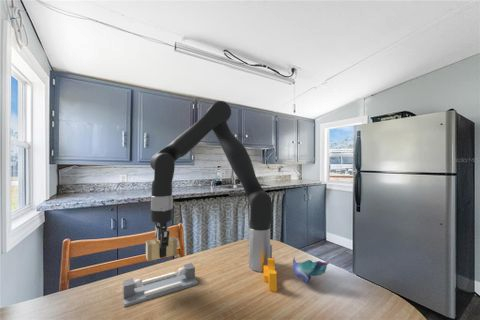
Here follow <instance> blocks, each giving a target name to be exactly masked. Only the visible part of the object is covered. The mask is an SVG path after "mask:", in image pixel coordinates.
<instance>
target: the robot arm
mask: <svg viewBox="0 0 480 320" xmlns="http://www.w3.org/2000/svg"><path fill="white" fill-rule="evenodd" d="M231 116H232V108H231V106H230V104H228V103H227V102H226V101H223V100H217V101H215V102H213V103H212V104H211V105H210V107H208V109H207V111H206V113H205V114H203V115H202V117H200V119H198V120H197V121H196V122H195V123H193V124H192V125H191V126H190V127H188V128H187V129H186V130H185V131H183V132H182V133H181V134H179V135H178V136H177V137H176V138H175V139H173V140H172V142H170V143H169V144H167V145H166V146H165V147H163V148H162V149H160V150H159V151H157V152H155V154H154V155H152V157H151V158H150V161H149V164H150V167H151V168H152V170H153V171H154V172H153V173H154V177H153V180H152V183H151V197H150V198H151V199H150V222H152V223H153V224H154V230H155V236H154V237H155V239H158V241H159V247H160V255H159V256H160V259H164V258H167V257H166V247H167V246H168V245H169V244H168V243H169V237H170V231H169V226H168V225H167V223H168V222H171V221H172V220H173V218H174V214H173V213H174V211H173V208H174V206H173V205H174V200H173V180H174V174H175V164H176V163H175V162H176V161H177V160H179V159H181V158H182V157H184V156H187V154H188V153H189V152H191V150H193V149H194V148H195V147H196V146H197V145H199V143H200V142H201V141H202V140H203V139H204V138H205V137H206V136H207V135H208V134H209V133H210V132H211V131H213V133H214V135H215V137H216V138H217V141H218V142H219V144H220V147H221V148H222V150H223V152H224V154H225V157H226V159H227V161H228V163H229V165H230V168H231V169H232V171H233V172H234V174H235V176H236V177H237V179H238V180H239V182H240V184H241V185H242V187H243V190H244V193H245V196H246V199H247V201H248V204H249V206H250V213H249V214H250V216H249V217H250V218H249V221H248V222H249V223H248V224H249V225H248V234H249V235H248V267H249V269H250V270H252V271H255V272H259V273H261V272H263V273H264V265H267V266H268V258H273V244H271V223H272V219H273V217H272V215H273V214H272V213H273V201H272V197H271V196H270V195H269V193H267V192H265V190H264V189H263V187H262V185H261V183H260V182H259V180H258V178H257V176H256V172H255V169H254V165H253V162H252V159H251V157H250V155H249V153H248V151H247V148H246V147H245V145H243V143H242V142H241V141H239V139H238V138H236V137H235V135H234V134H233V133H232V131H231V129H230V127H229V125H228V122H227V121H229V120H230V118H231ZM163 242H165V243H163ZM163 257H164V258H163Z"/></svg>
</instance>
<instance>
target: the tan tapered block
mask: <svg viewBox="0 0 480 320" xmlns="http://www.w3.org/2000/svg"><path fill="white" fill-rule="evenodd" d="M163 243H165V242H163ZM168 244H169V245H168V246H167V247H166V257H163V258H162V259H164V258H167V257H174V256H177V255H178V239H177V238H176V236H175V235H170V236H169V243H168ZM159 255H160V247H159V241H158V239H157V238H155V239H147V240H145V258H146V261H147V262H151V261H156V260H159V259H161V258H160V256H159Z"/></svg>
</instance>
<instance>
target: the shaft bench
mask: <svg viewBox="0 0 480 320" xmlns="http://www.w3.org/2000/svg"><path fill="white" fill-rule="evenodd" d="M177 271H178V272H176V271H173V272H169V273H166V274H162V275H159V276H155V277H150V278H146V279H144V280H143V278H137V279H134V277H132V278H128V279H123V281H122V282H123V287H122V294H123V307H124V308H126V307H129V306H132V305H135V304H138V303H141V302H142V303H143V302H144V301H149V300H151V299H154V298H158V297H161V296H164V295H167V294H171V293H173V292H177V291H181V290H184V289H186V288H190V287H193V286H196V285H198V283H199V281H198V280H197V278H196V267H195V265H194V264H193V263H192V262H190V263H186V264H184V266H182V267H179V268H178V270H177Z"/></svg>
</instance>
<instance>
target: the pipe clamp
mask: <svg viewBox="0 0 480 320" xmlns="http://www.w3.org/2000/svg"><path fill="white" fill-rule="evenodd" d="M275 268H276V267H275V257H272V258H268V266H267V265H264V271H263V282H265V283H268V289H269V290H268V291H269V292H274V293H275V292H277V291H278V290H277V289H278V288H277V287H278V285H277V284H278V283H277V282H278V281H277V280H278V279H277V278H278V276H277V270H275Z"/></svg>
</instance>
